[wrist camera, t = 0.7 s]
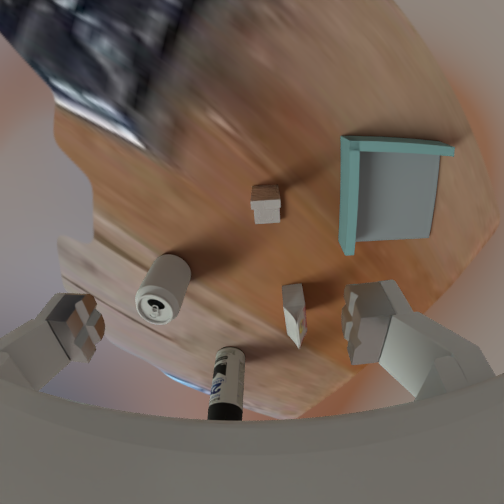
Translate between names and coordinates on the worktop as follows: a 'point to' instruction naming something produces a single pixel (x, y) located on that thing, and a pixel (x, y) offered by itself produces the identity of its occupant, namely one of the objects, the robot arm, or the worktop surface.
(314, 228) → the worktop surface
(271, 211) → the bracket
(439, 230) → the worktop surface
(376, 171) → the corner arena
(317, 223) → the worktop surface
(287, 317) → the milk carton
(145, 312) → the can
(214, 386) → the spray can
